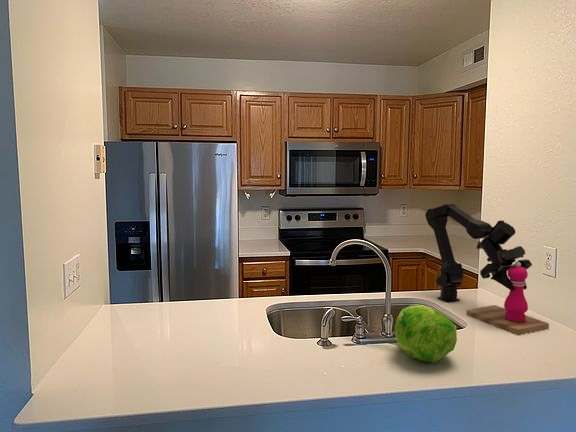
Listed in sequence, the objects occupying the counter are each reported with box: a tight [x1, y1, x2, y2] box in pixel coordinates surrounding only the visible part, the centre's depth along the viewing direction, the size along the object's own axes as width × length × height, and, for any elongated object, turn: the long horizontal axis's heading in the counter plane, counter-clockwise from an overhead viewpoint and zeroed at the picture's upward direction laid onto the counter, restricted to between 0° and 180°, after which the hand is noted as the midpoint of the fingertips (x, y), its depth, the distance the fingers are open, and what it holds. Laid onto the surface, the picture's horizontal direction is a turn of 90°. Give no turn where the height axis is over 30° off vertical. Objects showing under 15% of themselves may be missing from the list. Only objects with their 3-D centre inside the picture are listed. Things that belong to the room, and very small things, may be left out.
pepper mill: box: [503, 261, 529, 322], centre depth 144 cm, size 7×7×20 cm
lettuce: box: [394, 304, 458, 363], centre depth 121 cm, size 17×20×15 cm
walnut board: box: [465, 304, 550, 336], centre depth 148 cm, size 22×14×2 cm, turn 21°
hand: (519, 289), depth 142 cm, fingers closed on pepper mill, 5 cm apart
